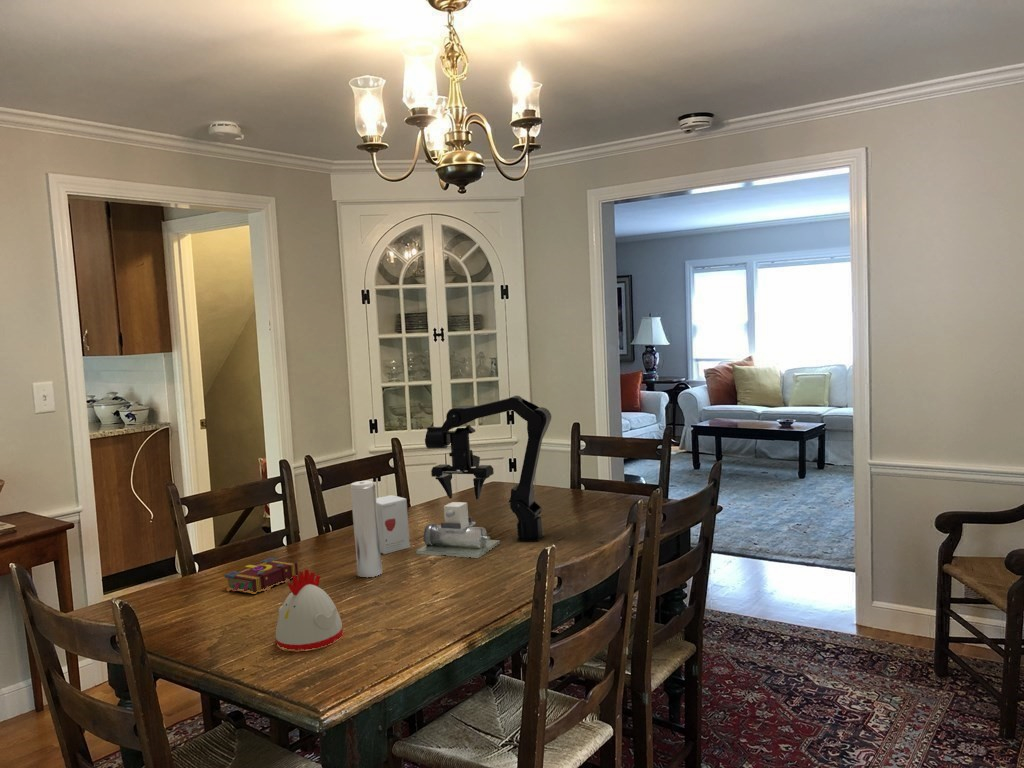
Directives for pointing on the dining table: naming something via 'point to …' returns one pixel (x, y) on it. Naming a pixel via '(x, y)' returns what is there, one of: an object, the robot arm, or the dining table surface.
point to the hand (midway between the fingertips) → (464, 498)
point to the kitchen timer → (307, 616)
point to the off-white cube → (456, 513)
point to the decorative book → (261, 574)
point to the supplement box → (392, 523)
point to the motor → (456, 540)
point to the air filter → (366, 529)
